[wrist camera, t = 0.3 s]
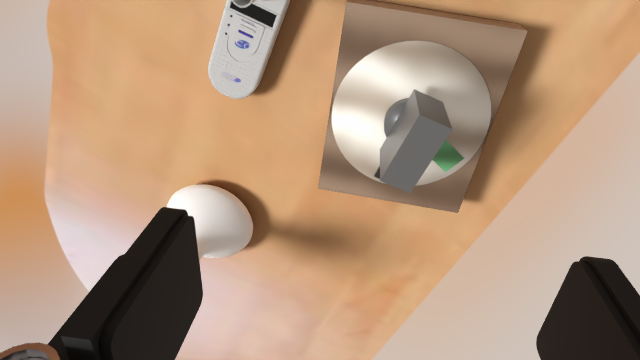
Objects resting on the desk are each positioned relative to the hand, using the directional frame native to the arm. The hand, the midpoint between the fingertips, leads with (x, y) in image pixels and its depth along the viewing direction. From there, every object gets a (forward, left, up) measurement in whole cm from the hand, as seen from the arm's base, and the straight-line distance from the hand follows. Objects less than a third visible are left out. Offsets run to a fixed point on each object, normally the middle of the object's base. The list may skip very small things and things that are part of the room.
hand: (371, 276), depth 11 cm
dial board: (+9, +5, -35) cm, 36 cm away
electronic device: (+3, -12, -35) cm, 37 cm away
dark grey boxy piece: (+11, +5, -31) cm, 34 cm away
